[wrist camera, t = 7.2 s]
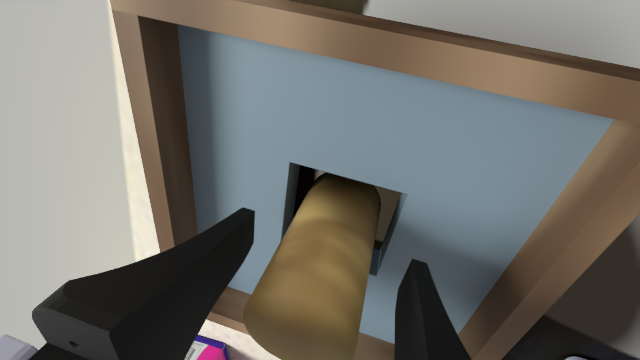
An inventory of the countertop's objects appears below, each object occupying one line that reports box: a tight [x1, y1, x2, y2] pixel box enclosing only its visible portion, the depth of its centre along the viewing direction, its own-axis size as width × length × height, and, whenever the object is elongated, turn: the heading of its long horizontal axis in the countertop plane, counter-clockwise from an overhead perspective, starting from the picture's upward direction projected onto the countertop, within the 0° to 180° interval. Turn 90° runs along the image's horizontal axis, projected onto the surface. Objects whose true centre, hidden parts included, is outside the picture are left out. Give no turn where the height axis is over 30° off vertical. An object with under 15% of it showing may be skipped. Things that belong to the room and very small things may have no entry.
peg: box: [243, 172, 381, 360], centre depth 14 cm, size 4×4×8 cm
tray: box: [110, 0, 640, 360], centre depth 15 cm, size 18×18×4 cm
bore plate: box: [177, 24, 615, 344], centre depth 16 cm, size 16×16×2 cm
